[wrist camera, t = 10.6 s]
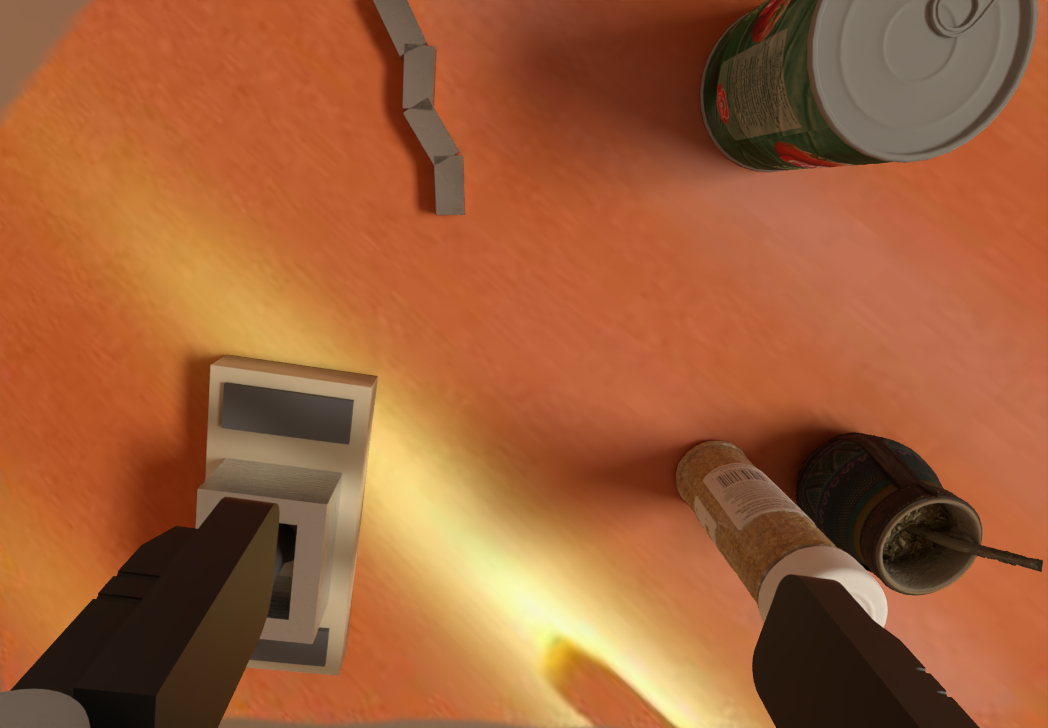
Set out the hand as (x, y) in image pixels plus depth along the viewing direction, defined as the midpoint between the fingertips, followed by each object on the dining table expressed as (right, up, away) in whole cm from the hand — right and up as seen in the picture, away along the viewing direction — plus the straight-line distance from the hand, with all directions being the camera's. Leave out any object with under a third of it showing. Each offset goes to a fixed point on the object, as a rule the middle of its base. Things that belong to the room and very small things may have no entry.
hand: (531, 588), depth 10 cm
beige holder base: (-14, -5, +26) cm, 30 cm away
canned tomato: (+13, +17, +22) cm, 31 cm away
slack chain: (-5, +16, +21) cm, 27 cm away
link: (-13, -6, +24) cm, 28 cm away
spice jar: (+11, -3, +27) cm, 30 cm away
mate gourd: (+19, -3, +28) cm, 34 cm away
